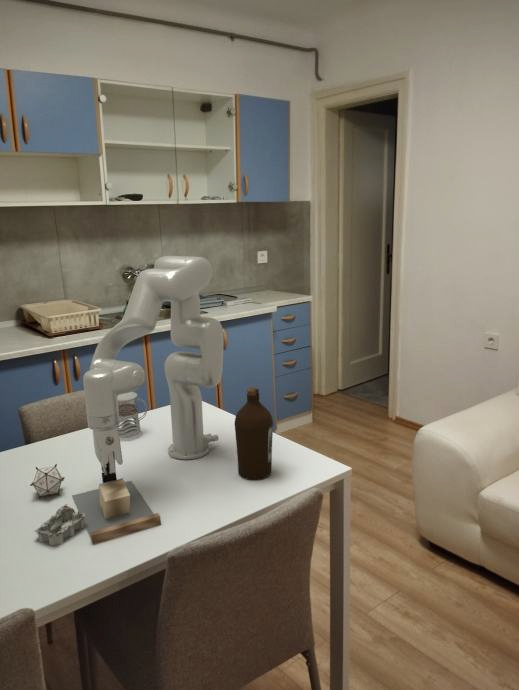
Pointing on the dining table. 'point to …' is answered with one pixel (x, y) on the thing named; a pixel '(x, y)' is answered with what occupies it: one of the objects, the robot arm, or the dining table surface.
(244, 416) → the olive oil
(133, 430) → the french press
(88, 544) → the dining table surface
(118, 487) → the block
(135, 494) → the grey rectangular board
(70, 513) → the carved stone fragment
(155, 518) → the rail
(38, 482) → the game die
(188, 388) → the robot arm
